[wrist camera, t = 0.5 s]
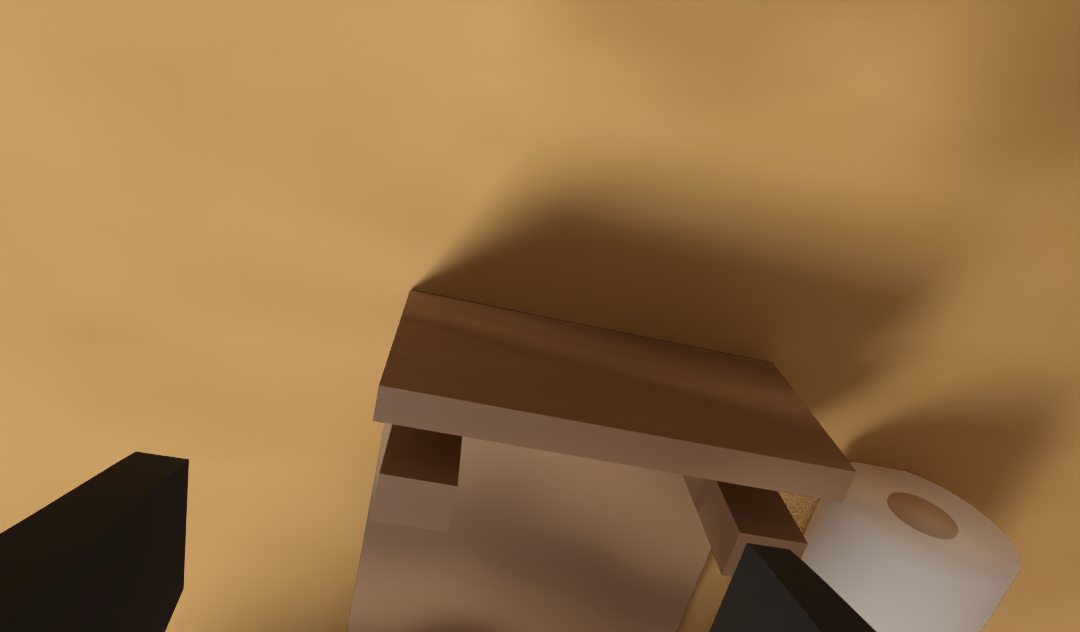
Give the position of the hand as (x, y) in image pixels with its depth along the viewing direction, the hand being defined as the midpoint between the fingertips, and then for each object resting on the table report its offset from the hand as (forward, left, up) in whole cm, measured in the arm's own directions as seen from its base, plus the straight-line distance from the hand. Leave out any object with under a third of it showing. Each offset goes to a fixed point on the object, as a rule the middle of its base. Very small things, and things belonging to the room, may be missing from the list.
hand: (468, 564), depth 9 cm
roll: (-9, -13, -10) cm, 18 cm away
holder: (-8, -3, -10) cm, 13 cm away
